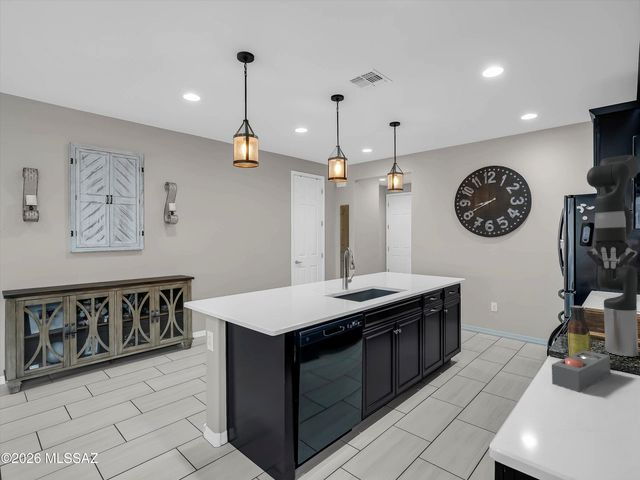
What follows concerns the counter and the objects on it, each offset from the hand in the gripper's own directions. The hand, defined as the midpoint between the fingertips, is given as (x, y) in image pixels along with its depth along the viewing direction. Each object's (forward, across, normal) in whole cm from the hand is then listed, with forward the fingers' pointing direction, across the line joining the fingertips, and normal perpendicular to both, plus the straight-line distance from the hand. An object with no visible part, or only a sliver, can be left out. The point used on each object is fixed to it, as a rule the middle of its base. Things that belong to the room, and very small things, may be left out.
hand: (612, 279), depth 108 cm
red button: (+29, +4, +17) cm, 34 cm away
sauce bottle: (+31, +11, -3) cm, 33 cm away
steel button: (+30, +4, +7) cm, 31 cm away
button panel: (+31, +4, +12) cm, 33 cm away
